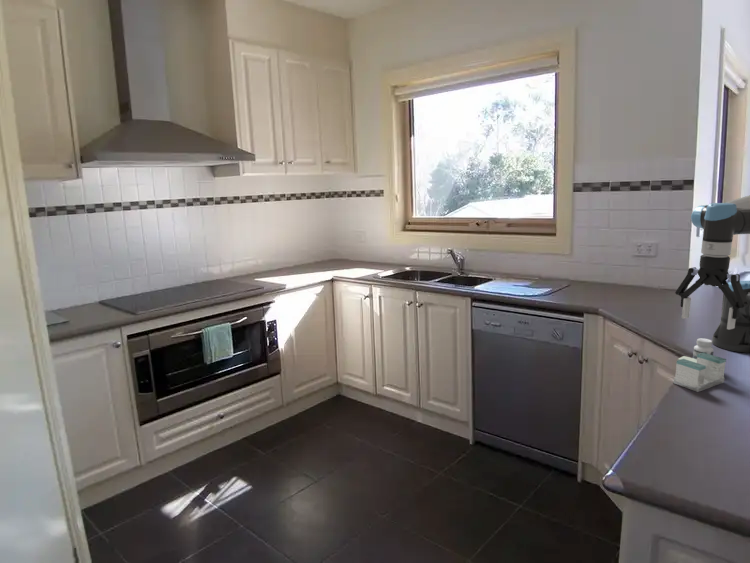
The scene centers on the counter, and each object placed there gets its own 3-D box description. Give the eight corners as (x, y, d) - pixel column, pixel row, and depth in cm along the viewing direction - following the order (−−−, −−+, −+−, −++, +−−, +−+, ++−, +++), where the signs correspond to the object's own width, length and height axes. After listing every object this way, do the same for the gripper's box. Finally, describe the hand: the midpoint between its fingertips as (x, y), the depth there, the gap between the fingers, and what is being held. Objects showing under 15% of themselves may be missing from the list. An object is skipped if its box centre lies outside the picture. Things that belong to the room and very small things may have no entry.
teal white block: (699, 374, 158) (702, 352, 157) (724, 382, 152) (727, 359, 151) (673, 383, 152) (675, 360, 151) (697, 392, 146) (700, 368, 145)
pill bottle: (704, 363, 167) (707, 337, 165) (715, 369, 162) (718, 342, 160) (688, 364, 167) (691, 337, 165) (698, 370, 161) (701, 343, 160)
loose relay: (682, 367, 164) (683, 355, 163) (699, 372, 160) (701, 360, 159) (676, 371, 162) (677, 358, 161) (693, 375, 158) (695, 363, 157)
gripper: (667, 251, 165) (661, 315, 170) (754, 262, 144) (744, 335, 148) (681, 248, 169) (675, 312, 173) (768, 259, 147) (758, 331, 152)
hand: (707, 323), depth 161 cm, fingers open, 13 cm apart
